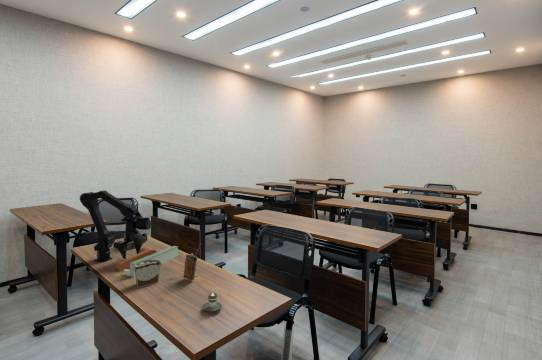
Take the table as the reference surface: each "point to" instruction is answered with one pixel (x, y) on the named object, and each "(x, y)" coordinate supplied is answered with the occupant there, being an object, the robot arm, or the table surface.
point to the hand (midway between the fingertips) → (131, 256)
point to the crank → (134, 258)
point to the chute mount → (155, 258)
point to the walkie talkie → (190, 266)
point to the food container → (147, 272)
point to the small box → (131, 244)
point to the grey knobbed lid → (212, 303)
